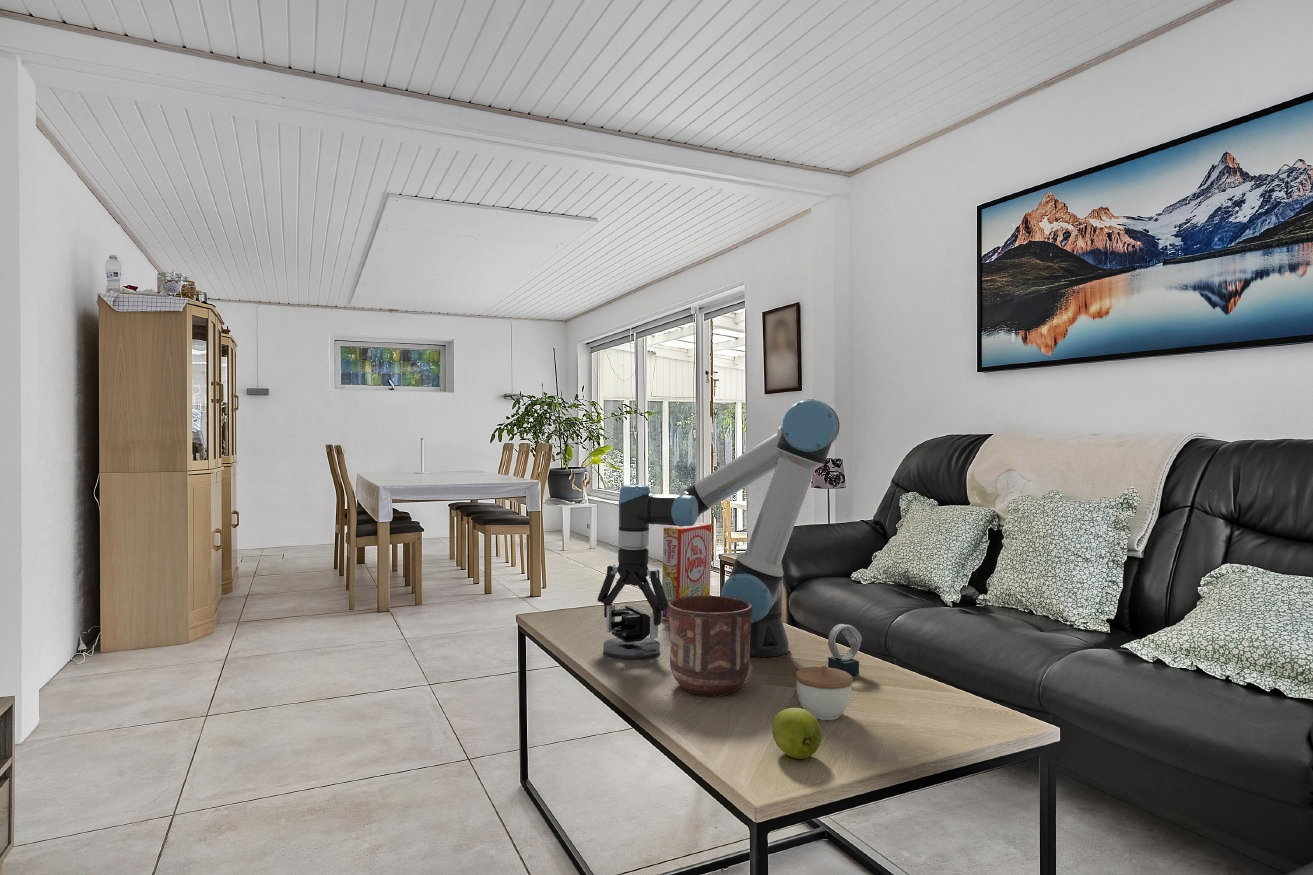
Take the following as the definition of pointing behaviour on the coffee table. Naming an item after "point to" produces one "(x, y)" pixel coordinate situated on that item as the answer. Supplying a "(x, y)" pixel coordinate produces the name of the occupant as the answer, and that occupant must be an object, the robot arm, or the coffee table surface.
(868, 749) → the coffee table surface
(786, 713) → the green lime
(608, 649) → the plate
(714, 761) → the coffee table surface
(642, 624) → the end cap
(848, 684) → the lidded jar
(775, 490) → the robot arm
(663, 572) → the popcorn box
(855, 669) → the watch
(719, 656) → the pottery
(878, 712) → the coffee table surface
